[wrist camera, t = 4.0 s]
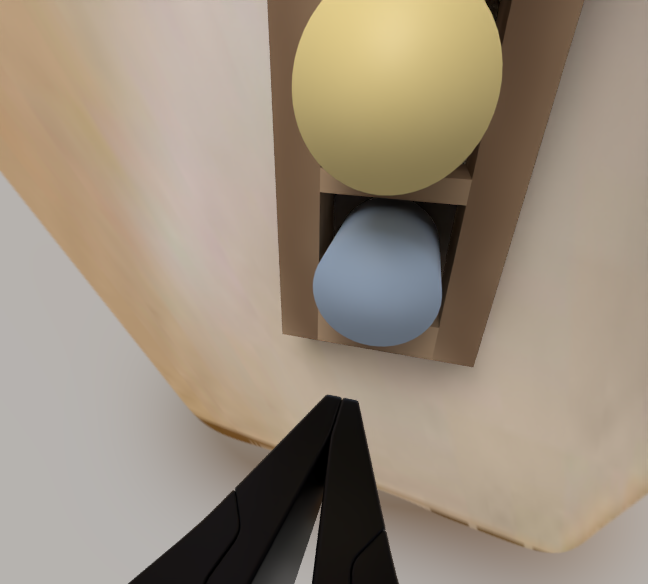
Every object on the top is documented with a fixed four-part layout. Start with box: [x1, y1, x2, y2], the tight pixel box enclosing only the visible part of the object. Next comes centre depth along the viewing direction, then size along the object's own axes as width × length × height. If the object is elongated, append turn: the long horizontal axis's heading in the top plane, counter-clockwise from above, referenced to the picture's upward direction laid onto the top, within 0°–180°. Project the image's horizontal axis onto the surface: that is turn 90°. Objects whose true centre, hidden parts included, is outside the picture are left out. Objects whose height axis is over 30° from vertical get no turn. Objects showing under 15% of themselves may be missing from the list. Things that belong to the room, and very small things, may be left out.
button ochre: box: [292, 0, 503, 195], centre depth 11 cm, size 5×5×5 cm
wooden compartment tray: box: [267, 0, 584, 367], centre depth 14 cm, size 10×24×3 cm, turn 179°
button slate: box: [313, 197, 442, 347], centre depth 16 cm, size 5×5×5 cm
